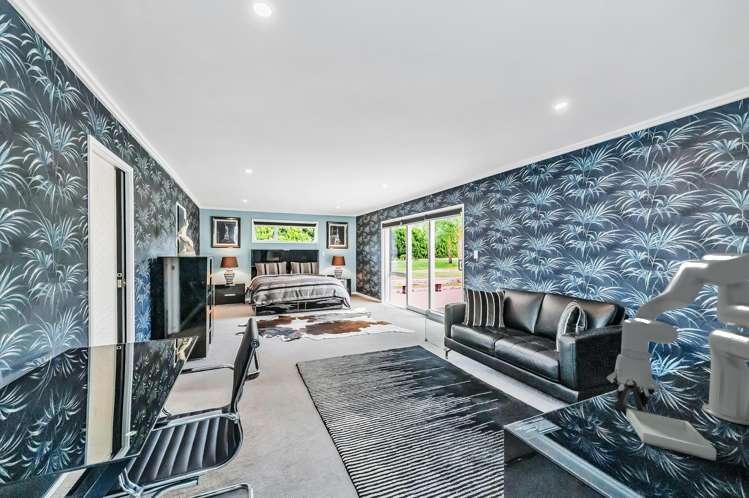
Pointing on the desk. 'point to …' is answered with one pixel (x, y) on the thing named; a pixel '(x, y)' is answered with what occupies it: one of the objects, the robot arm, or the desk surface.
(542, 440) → the desk surface
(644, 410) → the phone stand
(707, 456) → the tray
